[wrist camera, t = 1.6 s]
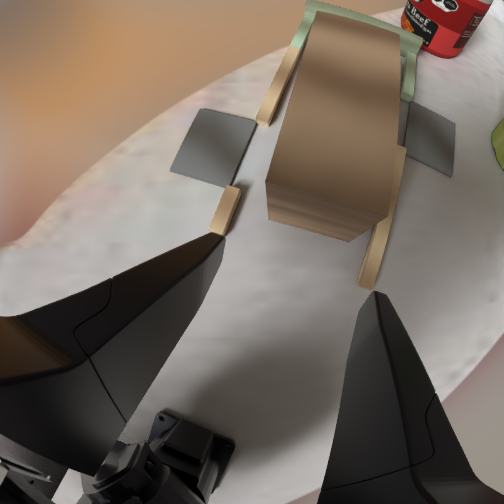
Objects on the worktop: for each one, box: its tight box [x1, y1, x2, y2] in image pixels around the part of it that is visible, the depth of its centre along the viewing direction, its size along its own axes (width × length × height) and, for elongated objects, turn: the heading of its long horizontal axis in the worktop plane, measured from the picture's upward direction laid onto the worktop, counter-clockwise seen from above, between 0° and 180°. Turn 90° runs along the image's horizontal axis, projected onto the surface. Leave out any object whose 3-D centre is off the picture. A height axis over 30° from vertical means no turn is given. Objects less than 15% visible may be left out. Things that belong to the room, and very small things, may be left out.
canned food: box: [401, 0, 493, 58], centre depth 17 cm, size 8×8×11 cm
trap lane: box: [170, 0, 455, 290], centre depth 20 cm, size 25×22×3 cm
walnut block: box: [265, 11, 401, 242], centre depth 18 cm, size 14×6×8 cm, turn 164°
